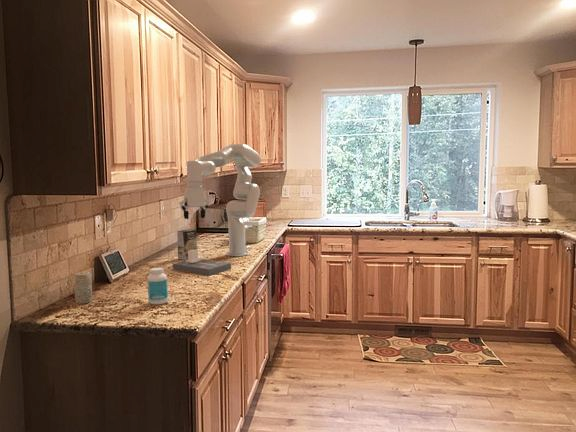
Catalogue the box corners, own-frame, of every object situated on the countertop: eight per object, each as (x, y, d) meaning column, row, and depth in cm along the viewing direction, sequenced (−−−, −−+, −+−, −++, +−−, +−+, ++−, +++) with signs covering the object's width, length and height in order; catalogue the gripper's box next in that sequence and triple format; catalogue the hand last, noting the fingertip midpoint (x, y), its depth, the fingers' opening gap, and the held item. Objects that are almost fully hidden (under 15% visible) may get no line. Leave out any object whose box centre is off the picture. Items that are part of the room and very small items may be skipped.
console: (195, 263, 261) (195, 257, 261) (231, 268, 247) (231, 262, 247) (173, 269, 248) (172, 263, 247) (209, 275, 234) (209, 269, 234)
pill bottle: (172, 302, 192) (170, 268, 190) (155, 306, 186) (154, 272, 185) (161, 298, 197) (159, 265, 195) (144, 302, 191) (143, 269, 190)
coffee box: (185, 260, 270) (183, 231, 268) (177, 259, 274) (176, 230, 272) (197, 257, 277) (196, 229, 275) (190, 256, 281) (189, 228, 279)
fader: (193, 259, 254) (193, 248, 254) (200, 260, 252) (200, 249, 251) (185, 262, 249) (185, 250, 249) (192, 263, 247) (192, 251, 246)
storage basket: (245, 237, 345) (244, 216, 343) (267, 237, 342) (267, 216, 340) (235, 243, 322) (235, 221, 320) (259, 243, 319) (259, 221, 317)
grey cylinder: (74, 305, 189) (71, 275, 188) (77, 300, 196) (75, 271, 195) (91, 304, 191) (89, 274, 189) (94, 298, 198) (92, 269, 196)
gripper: (204, 184, 258) (205, 217, 259) (175, 184, 246) (175, 218, 247) (212, 185, 252) (212, 218, 253) (183, 185, 240) (183, 219, 242)
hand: (194, 218), depth 250 cm, fingers open, 9 cm apart
